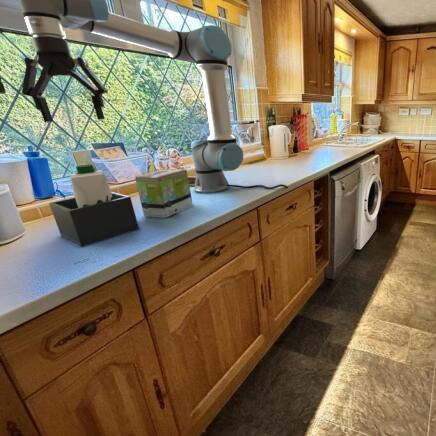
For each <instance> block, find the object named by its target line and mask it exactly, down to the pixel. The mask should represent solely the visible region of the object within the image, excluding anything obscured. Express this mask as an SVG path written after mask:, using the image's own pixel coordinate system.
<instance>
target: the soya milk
mask: <svg viewBox="0 0 436 436" xmlns="http://www.w3.org/2000/svg"><path fill="white" fill-rule="evenodd" d="M75 168H76V169H75V170H76V172H75V173H70V182H71V183H70V187H71V188H72V193H73V195H74V198H75V199H76V202H77V205H78V208H81V207H85V206H90V205H94V204H98V203H103V202H107V201H111V200H113V197H112V194H111V192H112V190H111V188H110V184H109V180H108V179H107V176H106V175H105V173H104V171H103V170H101V169H99V170H95V168H94V165H93V164H83V165H77V166H75Z"/></svg>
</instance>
